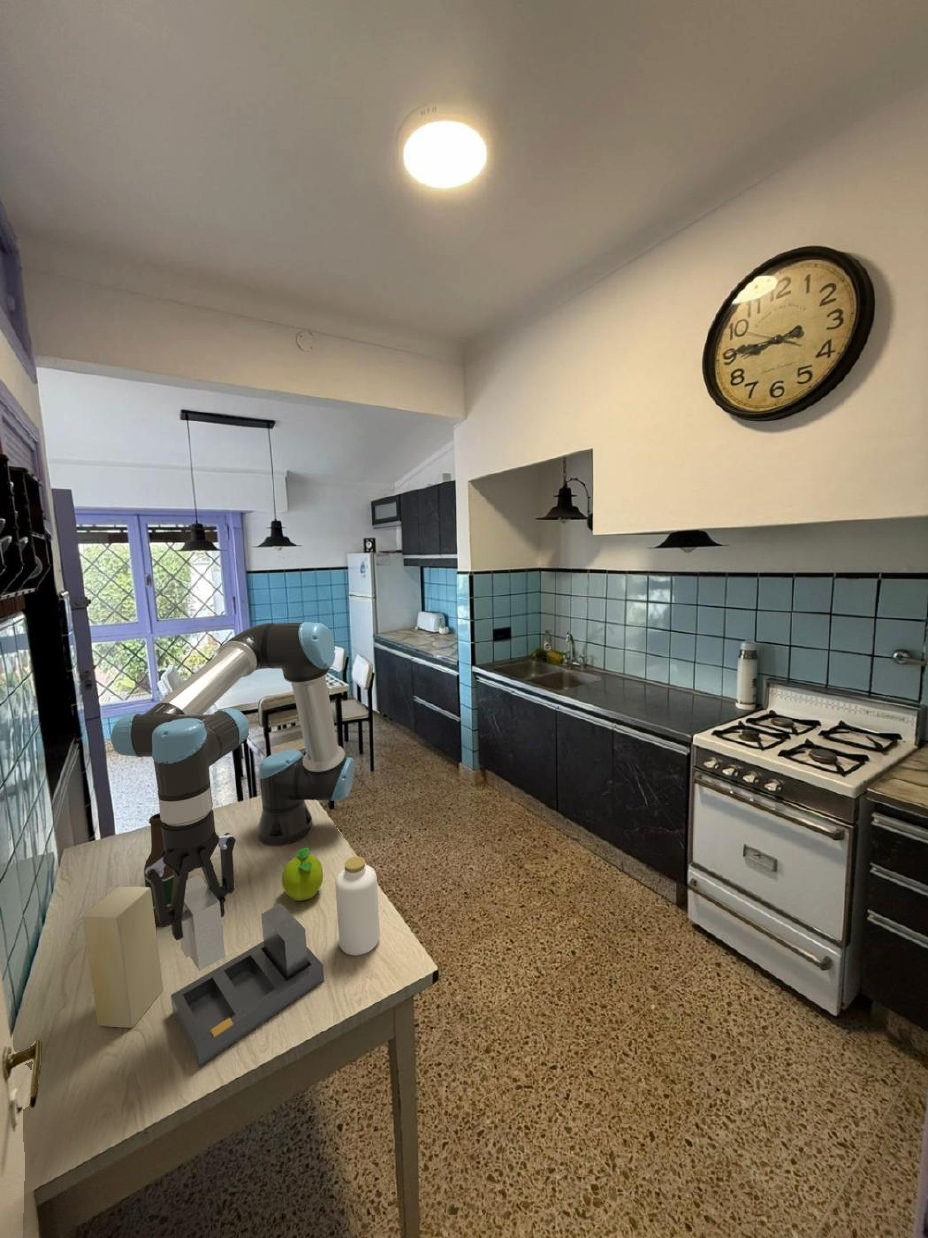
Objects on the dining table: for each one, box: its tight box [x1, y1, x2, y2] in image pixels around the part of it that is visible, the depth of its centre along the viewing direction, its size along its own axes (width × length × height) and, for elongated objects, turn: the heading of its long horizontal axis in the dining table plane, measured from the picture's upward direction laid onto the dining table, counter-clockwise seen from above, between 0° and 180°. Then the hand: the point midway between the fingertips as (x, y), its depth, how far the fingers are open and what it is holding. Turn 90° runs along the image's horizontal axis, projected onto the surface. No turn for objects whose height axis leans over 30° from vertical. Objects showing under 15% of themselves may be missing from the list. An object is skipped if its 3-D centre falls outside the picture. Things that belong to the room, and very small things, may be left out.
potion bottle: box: [334, 856, 381, 956], centre depth 102 cm, size 8×8×18 cm
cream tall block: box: [82, 885, 164, 1029], centre depth 88 cm, size 8×7×21 cm
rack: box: [170, 903, 325, 1069], centre depth 91 cm, size 22×14×11 cm, turn 135°
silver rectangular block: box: [183, 874, 226, 972], centre depth 84 cm, size 4×10×10 cm, turn 45°
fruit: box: [281, 847, 324, 902], centre depth 117 cm, size 9×9×10 cm
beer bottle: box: [143, 812, 174, 927], centre depth 111 cm, size 8×8×24 cm
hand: (201, 943), depth 84 cm, fingers closed on silver rectangular block, 4 cm apart
